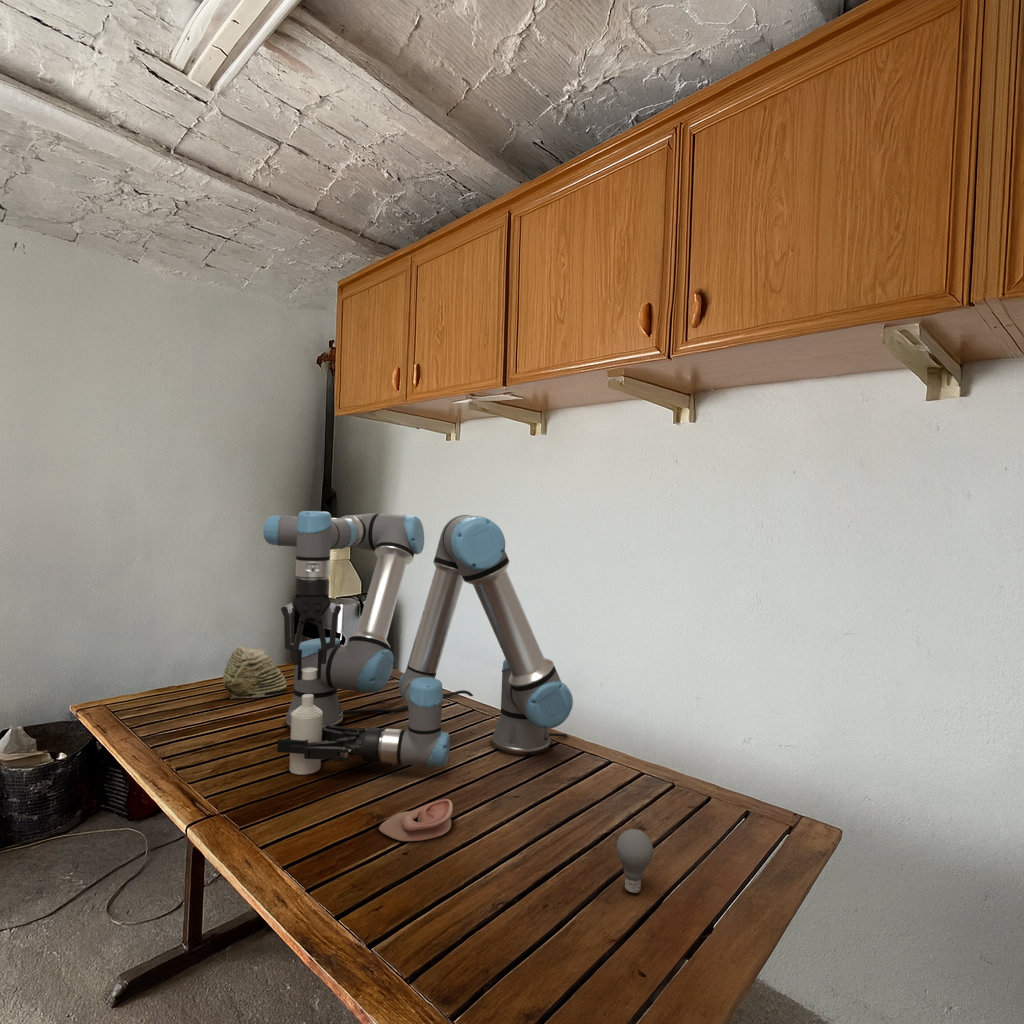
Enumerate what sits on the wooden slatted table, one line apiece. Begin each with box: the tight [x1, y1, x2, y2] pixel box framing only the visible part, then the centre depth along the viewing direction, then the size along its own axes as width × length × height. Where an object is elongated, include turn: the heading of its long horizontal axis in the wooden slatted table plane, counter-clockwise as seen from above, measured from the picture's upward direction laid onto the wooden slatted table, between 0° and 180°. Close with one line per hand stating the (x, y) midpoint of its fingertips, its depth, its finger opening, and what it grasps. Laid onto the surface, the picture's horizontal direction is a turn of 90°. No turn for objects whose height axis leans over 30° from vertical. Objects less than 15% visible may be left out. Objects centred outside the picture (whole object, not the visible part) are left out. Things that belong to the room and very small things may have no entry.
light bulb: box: [615, 828, 654, 894], centre depth 106 cm, size 6×6×10 cm
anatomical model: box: [378, 798, 454, 842], centre depth 123 cm, size 13×4×12 cm
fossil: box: [222, 646, 288, 699], centre depth 198 cm, size 9×18×15 cm, turn 132°
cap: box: [301, 667, 318, 680], centre depth 147 cm, size 4×4×2 cm
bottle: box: [289, 694, 323, 776], centre depth 147 cm, size 7×7×17 cm
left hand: (309, 677), depth 147 cm, fingers closed on cap, 4 cm apart
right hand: (285, 739), depth 147 cm, fingers closed on bottle, 7 cm apart
